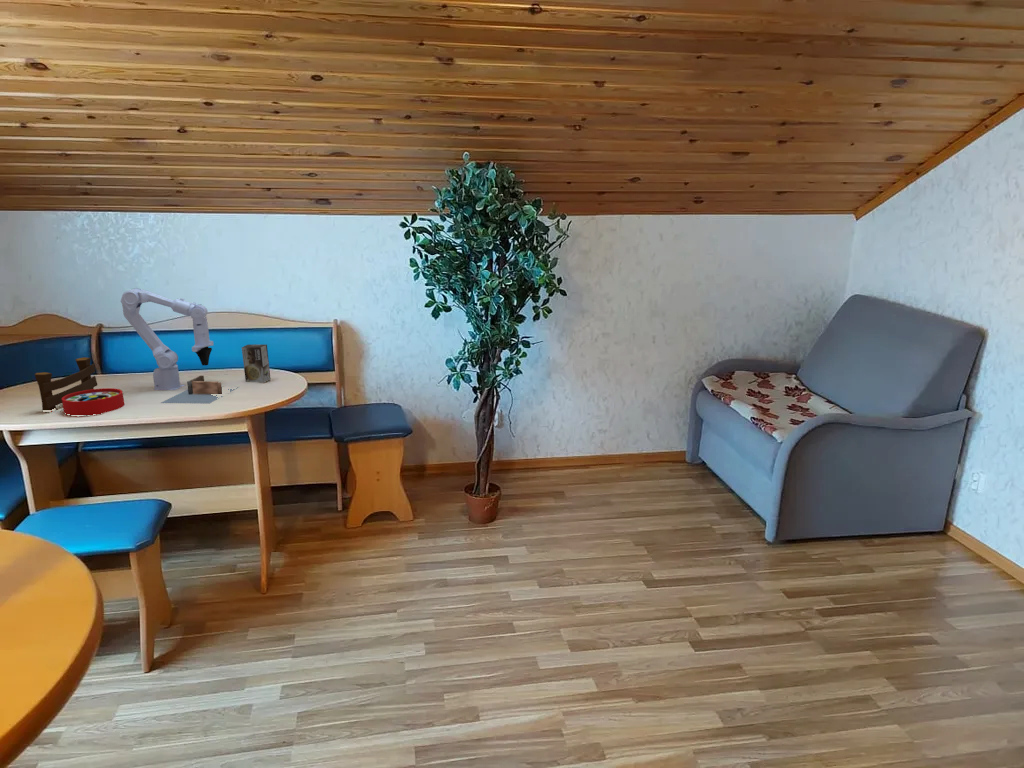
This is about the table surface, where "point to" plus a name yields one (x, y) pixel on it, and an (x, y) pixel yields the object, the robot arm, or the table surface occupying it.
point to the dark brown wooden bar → (189, 383)
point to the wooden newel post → (206, 387)
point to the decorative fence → (65, 383)
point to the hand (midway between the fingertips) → (205, 365)
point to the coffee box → (256, 363)
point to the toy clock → (93, 401)
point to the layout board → (192, 398)
